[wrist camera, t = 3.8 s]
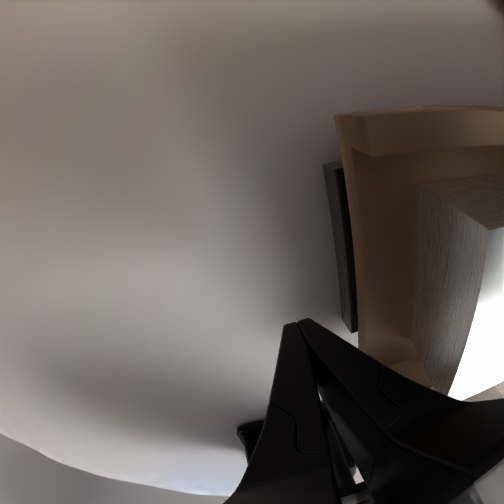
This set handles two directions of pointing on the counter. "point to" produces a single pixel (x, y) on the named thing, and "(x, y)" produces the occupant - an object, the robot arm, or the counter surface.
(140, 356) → the counter surface
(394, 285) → the wooden tray
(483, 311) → the steel block
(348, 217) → the stand
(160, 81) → the counter surface
